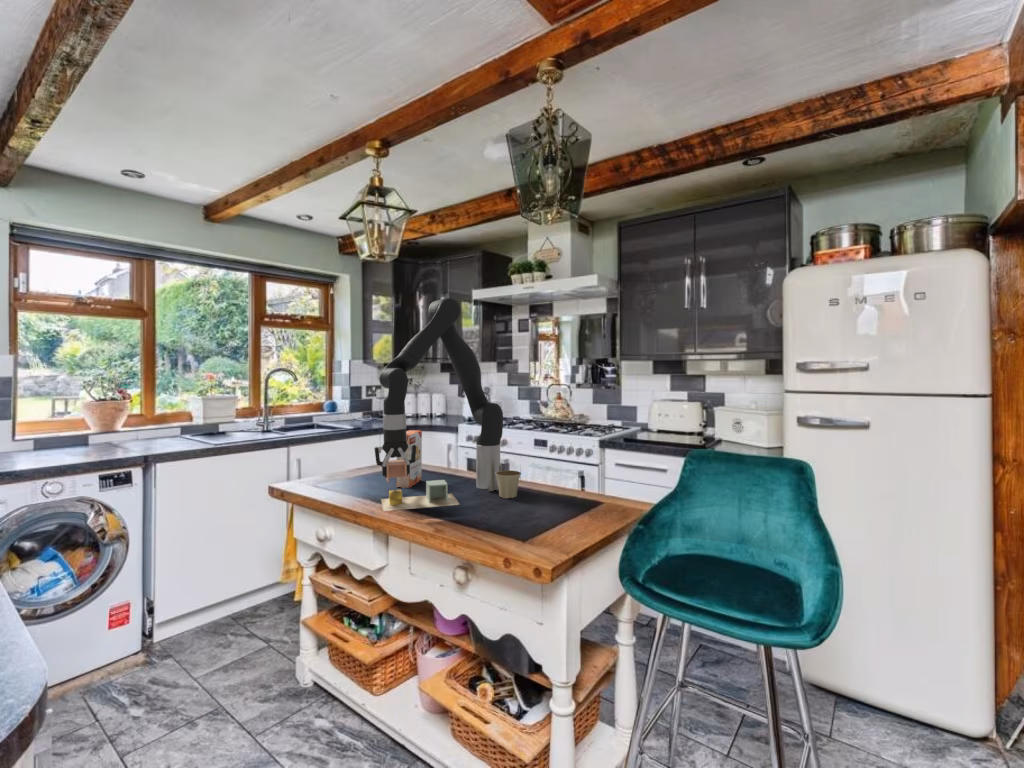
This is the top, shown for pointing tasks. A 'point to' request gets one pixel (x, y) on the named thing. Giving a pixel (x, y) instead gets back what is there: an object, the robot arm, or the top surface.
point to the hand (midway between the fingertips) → (396, 476)
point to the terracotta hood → (396, 469)
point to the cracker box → (415, 467)
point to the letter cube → (395, 497)
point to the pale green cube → (436, 489)
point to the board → (419, 502)
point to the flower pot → (508, 483)
